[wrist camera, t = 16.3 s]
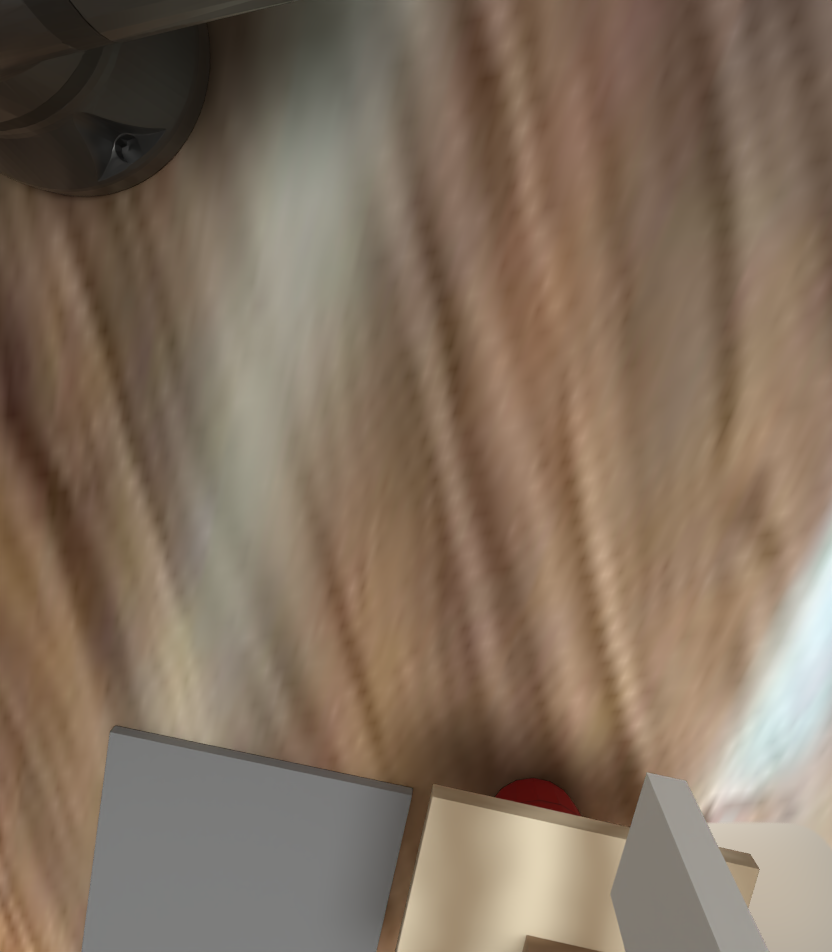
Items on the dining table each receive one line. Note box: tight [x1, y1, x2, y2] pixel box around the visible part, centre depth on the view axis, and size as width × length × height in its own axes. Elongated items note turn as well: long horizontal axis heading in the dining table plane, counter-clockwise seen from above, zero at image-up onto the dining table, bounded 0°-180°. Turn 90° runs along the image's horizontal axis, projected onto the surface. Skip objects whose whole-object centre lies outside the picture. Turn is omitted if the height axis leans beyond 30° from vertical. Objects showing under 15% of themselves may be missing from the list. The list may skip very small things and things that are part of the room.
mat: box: [82, 726, 413, 952], centre depth 54 cm, size 20×20×1 cm
